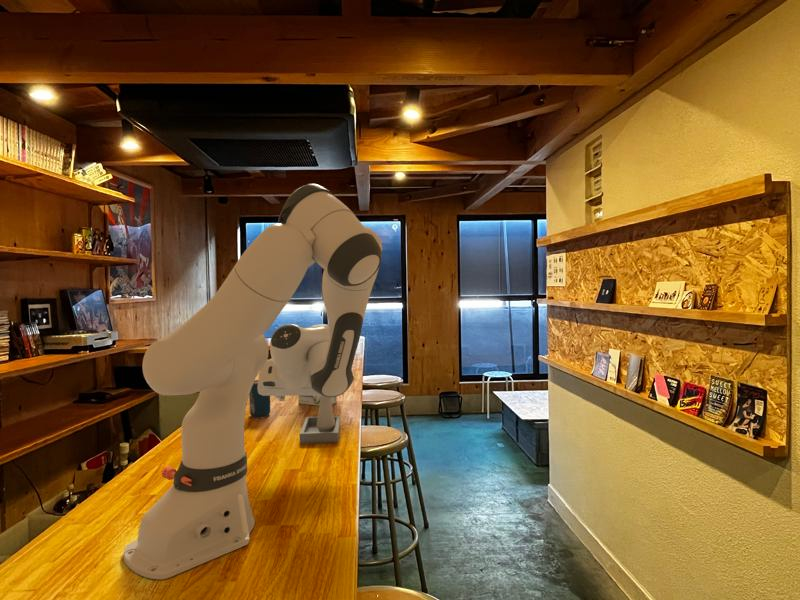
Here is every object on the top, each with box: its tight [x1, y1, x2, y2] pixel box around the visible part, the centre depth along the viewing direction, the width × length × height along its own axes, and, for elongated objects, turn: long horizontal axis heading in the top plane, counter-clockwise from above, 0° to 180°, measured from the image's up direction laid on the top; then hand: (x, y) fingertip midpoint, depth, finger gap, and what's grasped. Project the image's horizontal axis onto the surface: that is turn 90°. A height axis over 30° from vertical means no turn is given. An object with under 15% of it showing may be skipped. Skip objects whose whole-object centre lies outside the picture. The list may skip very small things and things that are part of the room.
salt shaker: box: [317, 396, 336, 432], centre depth 142 cm, size 6×6×13 cm
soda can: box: [248, 379, 271, 419], centre depth 161 cm, size 7×7×12 cm
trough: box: [299, 415, 341, 445], centre depth 142 cm, size 16×11×3 cm
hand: (299, 399), depth 130 cm, fingers open, 8 cm apart
